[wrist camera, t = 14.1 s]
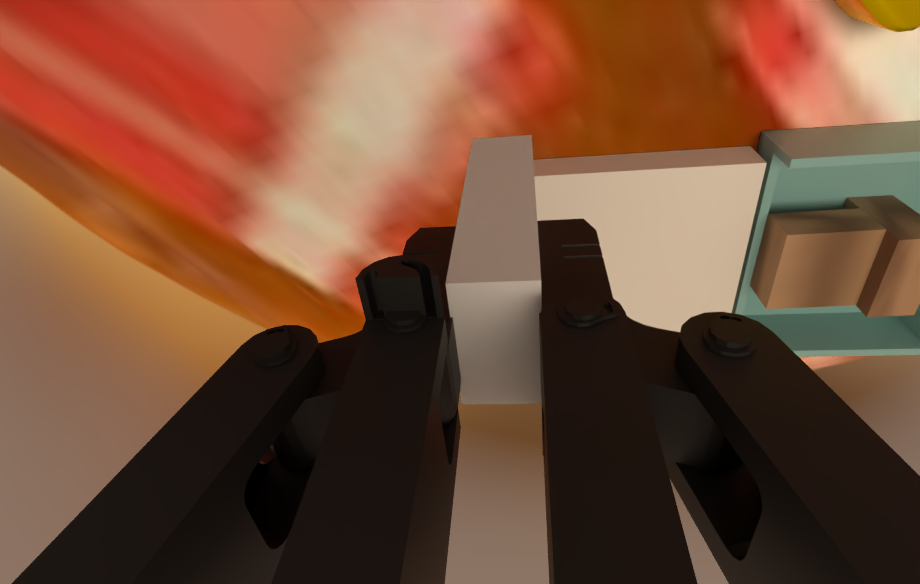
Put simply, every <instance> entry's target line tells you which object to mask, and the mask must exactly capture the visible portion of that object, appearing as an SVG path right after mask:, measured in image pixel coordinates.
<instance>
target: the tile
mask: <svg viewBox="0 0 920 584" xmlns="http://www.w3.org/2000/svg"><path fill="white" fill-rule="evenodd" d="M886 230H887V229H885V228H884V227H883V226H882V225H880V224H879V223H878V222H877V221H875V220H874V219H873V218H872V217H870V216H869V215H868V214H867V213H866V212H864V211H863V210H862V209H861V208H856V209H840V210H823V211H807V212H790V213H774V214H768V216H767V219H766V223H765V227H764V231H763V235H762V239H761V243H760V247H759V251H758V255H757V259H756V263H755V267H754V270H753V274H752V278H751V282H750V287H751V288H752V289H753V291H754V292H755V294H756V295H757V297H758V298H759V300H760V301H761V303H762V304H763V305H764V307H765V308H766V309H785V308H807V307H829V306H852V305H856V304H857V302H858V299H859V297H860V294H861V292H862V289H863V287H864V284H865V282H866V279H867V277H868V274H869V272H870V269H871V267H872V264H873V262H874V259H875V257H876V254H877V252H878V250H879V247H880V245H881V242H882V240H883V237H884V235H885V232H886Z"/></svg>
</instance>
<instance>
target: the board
mask: <svg viewBox="0 0 920 584" xmlns="http://www.w3.org/2000/svg"><path fill="white" fill-rule="evenodd" d="M533 164H534V179H535V194H536V209H537V221H542V220H563V219H584V220H586V221H587V222H588V223H589V224H590V225H591V226H592V227H594V228H595V229H596V231H597V235H598V239H599V243H600V247H601V251H602V258H603V259H604V263H605V267H606V271H607V275H608V279H609V283H610V288H611V292H612V296H613V299H615V300H616V301H618V302H619V303H620V304H621V306H622V307H623V309H624V311H625V312H626V316H628V317H629V318H631V319H632V320H634V321H637V322H639V323H641V324H644V325H647V326H651V327H655V328H660V329H665V330H670V331H676V332H680V331H681V326H682V325H683V324H684V323H685V322H686V321H687V320H688V319H689V318H690V317H693V316H696V315H699V314H702V313H705V312H728V313H732V309H733V305H734V301H735V296H736V292H737V288H738V284H739V279H740V275H741V271H742V266H743V262H744V258H745V254H746V249H747V245H748V241H749V237H750V232H751V228H752V224H753V219H754V215H755V211H756V207H757V202H758V198H759V194H760V190H761V185H762V181H763V177H764V173H765V168H766V164H767V162H766V161H765V160H764V159H763V158H762V157H761V156H760V155H759V154H758V153H757V152H756V151H755V150H754V149H753V148H752V147H751V146H743V147H727V148H711V149H695V150H679V151H663V152H647V153H631V154H615V155H600V156H584V157H568V158H552V159H536V160H533Z"/></svg>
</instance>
